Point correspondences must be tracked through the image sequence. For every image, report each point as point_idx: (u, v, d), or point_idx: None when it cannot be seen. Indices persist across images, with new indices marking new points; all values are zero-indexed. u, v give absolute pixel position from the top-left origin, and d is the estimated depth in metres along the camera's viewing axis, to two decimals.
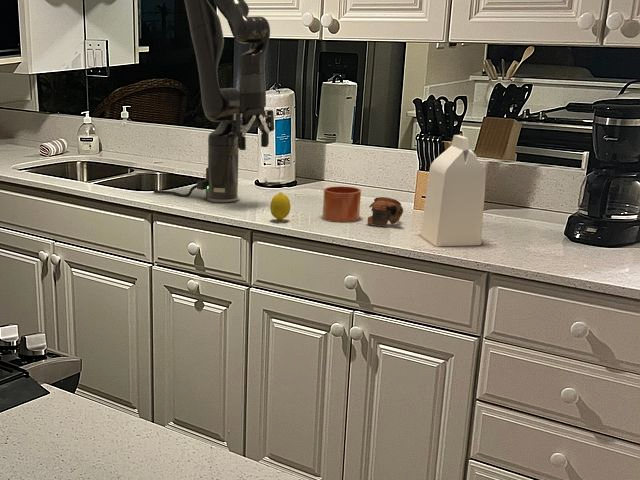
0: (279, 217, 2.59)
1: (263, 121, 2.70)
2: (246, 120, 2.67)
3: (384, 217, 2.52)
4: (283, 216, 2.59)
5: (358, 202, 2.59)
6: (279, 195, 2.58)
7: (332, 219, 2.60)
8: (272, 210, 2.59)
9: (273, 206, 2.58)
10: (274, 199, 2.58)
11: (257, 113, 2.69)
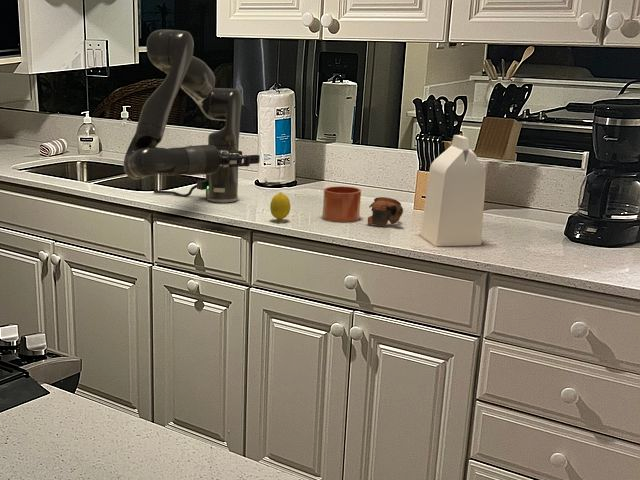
0: (279, 217, 2.59)
1: None
2: None
3: (384, 217, 2.52)
4: (283, 216, 2.59)
5: (358, 202, 2.59)
6: (279, 195, 2.58)
7: (332, 219, 2.60)
8: (272, 210, 2.59)
9: (273, 206, 2.58)
10: (274, 199, 2.58)
11: None
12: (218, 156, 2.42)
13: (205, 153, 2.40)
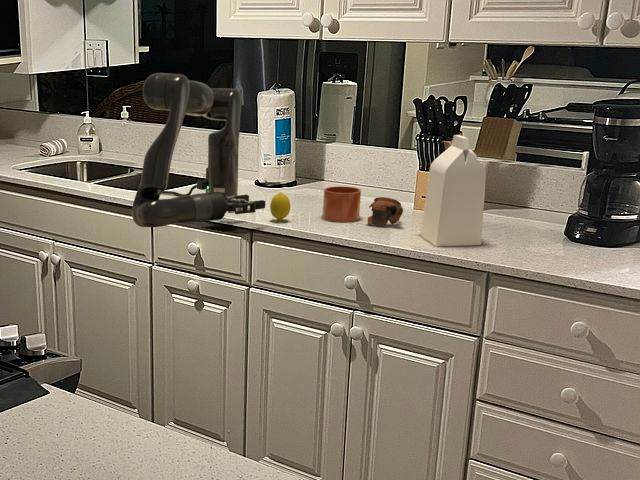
0: (279, 217, 2.59)
1: None
2: None
3: (384, 217, 2.52)
4: (283, 216, 2.59)
5: (358, 202, 2.59)
6: (279, 195, 2.58)
7: (332, 219, 2.60)
8: (272, 210, 2.59)
9: (273, 206, 2.58)
10: (274, 199, 2.58)
11: None
12: (224, 203, 2.47)
13: (211, 201, 2.46)
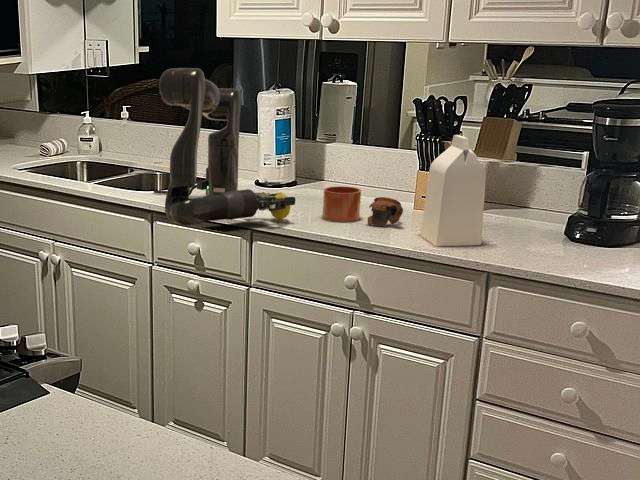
0: (279, 217, 2.59)
1: None
2: None
3: (384, 217, 2.52)
4: (283, 216, 2.59)
5: (358, 202, 2.59)
6: (279, 195, 2.58)
7: (332, 219, 2.60)
8: None
9: None
10: None
11: None
12: (256, 201, 2.52)
13: (243, 199, 2.50)
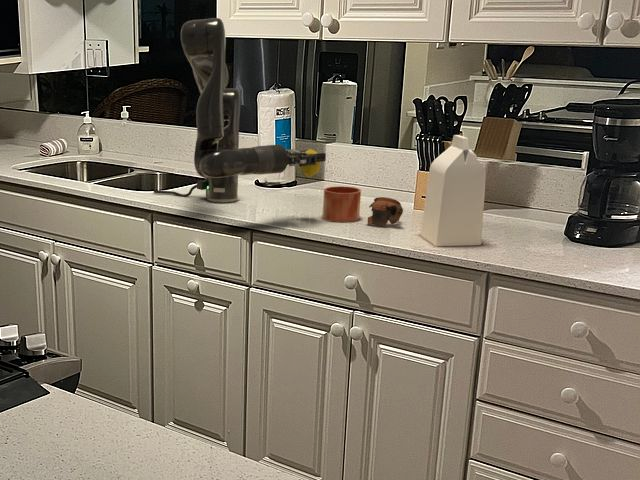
0: (309, 174, 2.56)
1: (298, 164, 2.53)
2: None
3: (384, 217, 2.52)
4: (313, 173, 2.56)
5: (358, 202, 2.59)
6: (309, 151, 2.55)
7: (332, 219, 2.60)
8: (302, 166, 2.56)
9: None
10: None
11: None
12: (286, 156, 2.48)
13: (274, 153, 2.47)
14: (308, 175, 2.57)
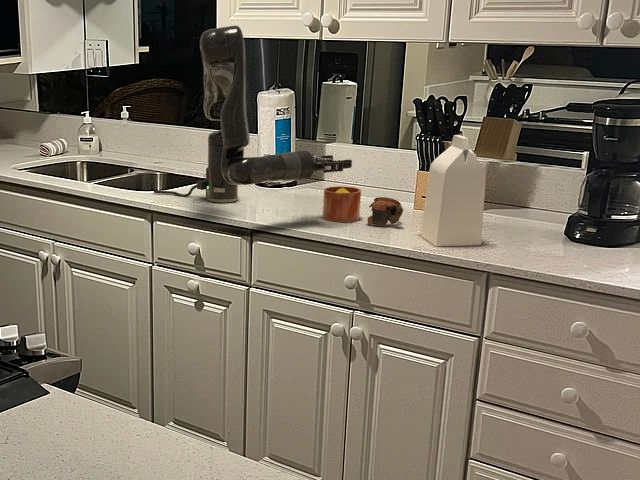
0: None
1: None
2: None
3: (384, 217, 2.52)
4: None
5: (358, 202, 2.59)
6: (341, 190, 2.60)
7: (332, 219, 2.60)
8: None
9: None
10: None
11: None
12: (313, 162, 2.50)
13: (300, 159, 2.48)
14: None
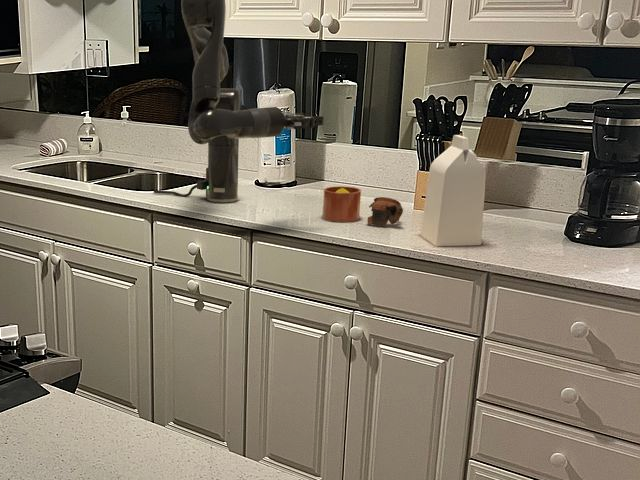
0: None
1: None
2: None
3: (384, 217, 2.52)
4: None
5: (358, 202, 2.59)
6: (341, 190, 2.60)
7: (332, 219, 2.60)
8: None
9: None
10: None
11: None
12: (282, 118, 2.41)
13: (270, 115, 2.40)
14: None
